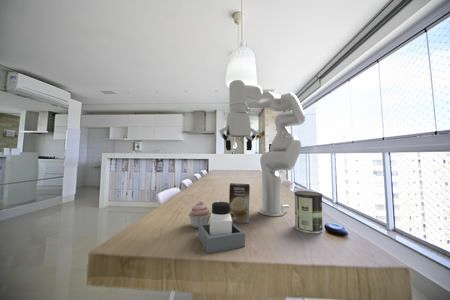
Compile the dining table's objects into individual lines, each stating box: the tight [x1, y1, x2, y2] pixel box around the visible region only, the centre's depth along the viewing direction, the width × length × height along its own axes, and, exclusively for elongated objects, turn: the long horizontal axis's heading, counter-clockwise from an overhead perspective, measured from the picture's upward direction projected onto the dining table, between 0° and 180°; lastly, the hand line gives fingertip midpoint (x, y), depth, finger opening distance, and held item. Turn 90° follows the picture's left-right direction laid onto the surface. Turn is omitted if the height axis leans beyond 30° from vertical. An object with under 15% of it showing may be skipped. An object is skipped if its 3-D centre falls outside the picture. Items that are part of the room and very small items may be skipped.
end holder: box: [197, 222, 246, 254], centre depth 60 cm, size 12×12×4 cm
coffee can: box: [293, 190, 324, 235], centre depth 73 cm, size 10×10×14 cm
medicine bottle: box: [209, 200, 233, 237], centre depth 61 cm, size 7×7×12 cm
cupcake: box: [188, 200, 212, 229], centre depth 74 cm, size 9×9×10 cm
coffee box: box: [228, 182, 251, 224], centre depth 82 cm, size 9×6×16 cm
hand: (239, 150), depth 77 cm, fingers open, 9 cm apart
